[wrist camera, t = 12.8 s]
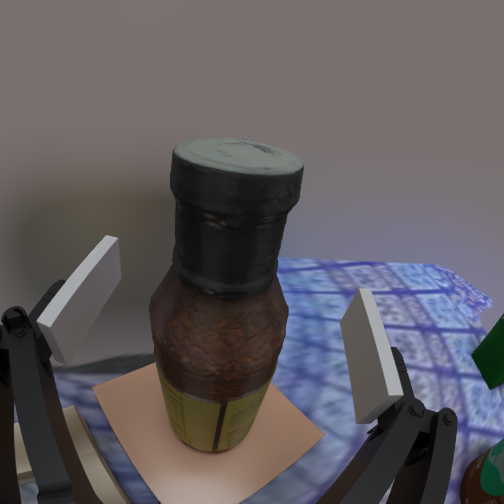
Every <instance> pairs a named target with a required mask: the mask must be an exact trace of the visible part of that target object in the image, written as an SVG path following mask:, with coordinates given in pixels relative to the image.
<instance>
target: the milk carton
mask: <svg viewBox="0 0 504 504" xmlns="http://www.w3.org/2000/svg"><path fill="white" fill-rule="evenodd" d="M471 355H472V357H473V359H474V361H475V362H476V364H477V366H478V368H479V369H480V371H481V373H482V375H483V377H484V379H485V381H486V383H487V384H488V386H489V388H490V389H492V388H494V387H496V386H498V385H500V384H502V383H504V314H503V315H502V317H501V318H500V319H499V321H498V322H497V323H496V325H495V326H494V327H493V328H492V330H491V331H490V332H489V334H488V335H487V336H486V337H485V339H484V340H483V341H482V343H481V344H480V345H479V346H478V347H477V349H476V350H475V351H474V352H473V353H472V354H471Z"/></svg>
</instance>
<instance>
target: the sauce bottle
mask: <svg viewBox="0 0 504 504" xmlns="http://www.w3.org/2000/svg"><path fill="white" fill-rule="evenodd" d="M303 170H304V166H303V163H302V162H301V160H300V159H299V158H298V157H297V156H295V155H293V154H291V153H289V152H287V151H285V150H284V149H280V148H277V147H274V146H270V145H267V144H262V143H257V142H254V141H250V140H245V139H237V138H226V137H211V138H198V139H192V140H188V141H184V142H181V143H179V144H178V145H177V146H175V148H174V150H173V155H172V165H171V173H170V188H171V190H172V193H173V195H174V197H175V200H176V210H175V216H176V217H175V240H176V243H175V246H174V250H173V258H172V261H173V264H172V266H171V267H170V269H169V271H168V273H167V274H166V276H165V277H164V279H163V281H162V282H161V284H160V285H159V287H158V288H157V290H156V291H155V293H154V295H152V297H151V302H150V306H149V312H150V320H151V330H152V339H153V341H154V357H155V362H156V367H157V372H158V376H159V380H160V385H161V389H162V393H163V397H164V401H165V405H166V410H167V414H168V418H169V421H170V425H171V427H172V429H173V430H174V432H175V433H176V434H177V436H178V437H179V438H180V439H181V441H182V442H183V443H184V444H185V445H186V446H188V447H191V448H193V449H195V450H197V451H201V452H205V453H211V454H219V453H223V452H226V451H228V450H231V449H232V448H233V447H235V446H237V445H238V444H239V443H240V442H242V441H243V440H244V438H245V437H246V436H247V434H248V433H249V431H250V429H251V427H252V425H253V423H254V420H255V418H256V416H257V413H258V411H259V409H260V406H261V404H262V401H263V399H264V397H265V394H266V392H267V390H268V387H269V385H270V382H271V380H272V378H273V375H274V373H275V371H276V367H277V363H278V356H279V354H280V352H281V349H282V346H283V342H284V338H285V335H286V323H287V318H288V312H289V308H288V306H287V304H286V301H285V299H284V296H283V293H282V289H281V286H280V283H279V280H278V277H277V274H276V273H277V269H278V259H277V258H278V254H279V250H280V247H281V241H282V238H283V232H284V227H285V224H286V220H287V215H288V213H289V212H290V210H291V209H292V208H293V207H294V206H295V205H296V204H297V202H298V201H299V198H300V190H301V183H302V176H303Z"/></svg>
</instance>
